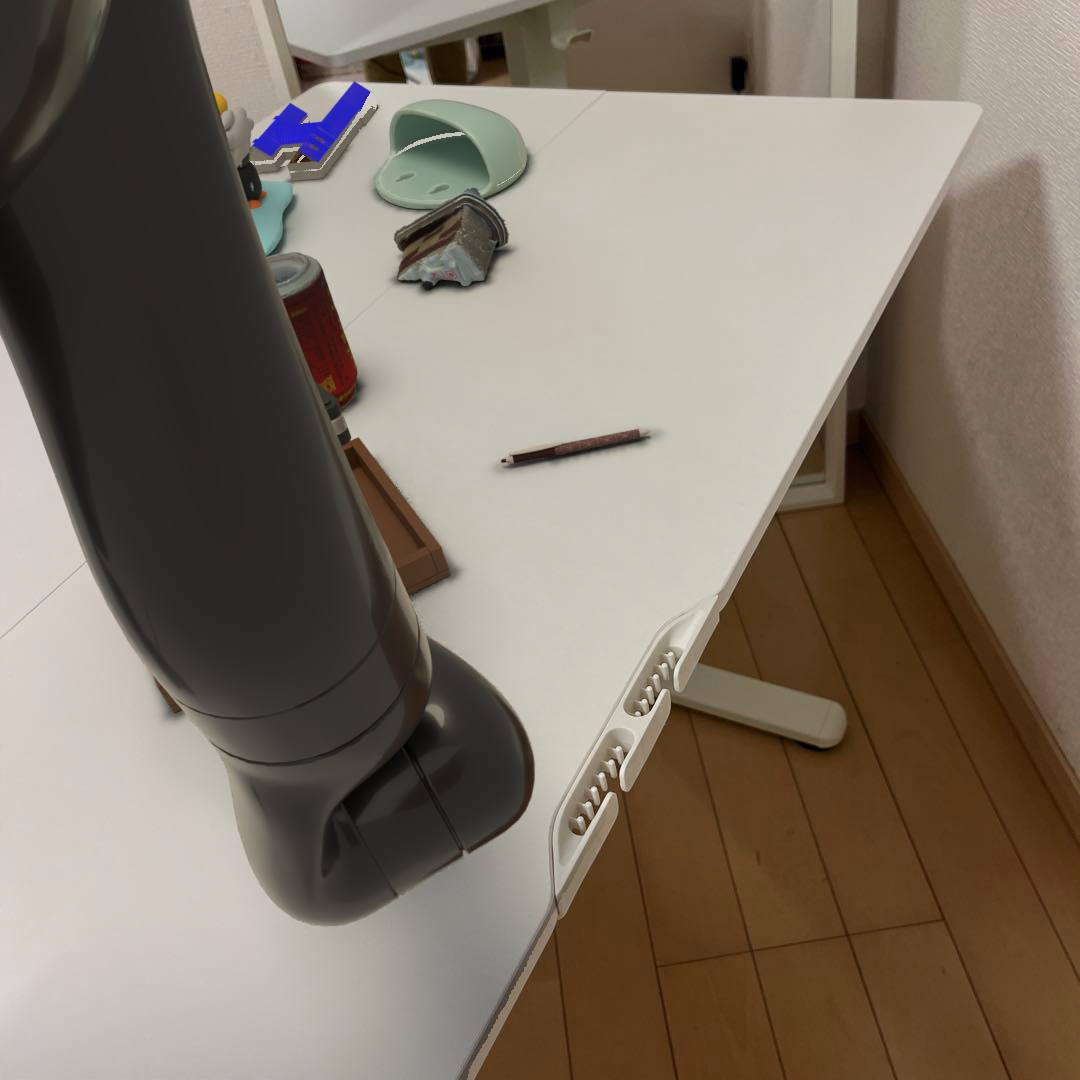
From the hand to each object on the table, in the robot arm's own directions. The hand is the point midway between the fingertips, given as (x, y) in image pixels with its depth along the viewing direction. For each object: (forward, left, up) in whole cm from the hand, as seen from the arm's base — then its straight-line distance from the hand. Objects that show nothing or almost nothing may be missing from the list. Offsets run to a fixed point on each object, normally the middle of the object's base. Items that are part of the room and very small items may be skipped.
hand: (180, 389), depth 63 cm
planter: (+38, +54, -18) cm, 68 cm away
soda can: (+11, +22, -18) cm, 30 cm away
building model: (+29, +77, -18) cm, 84 cm away
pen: (+24, +1, -18) cm, 30 cm away
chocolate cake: (+28, +34, -18) cm, 47 cm away
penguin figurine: (+15, +59, -18) cm, 63 cm away
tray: (+1, +3, -18) cm, 18 cm away
